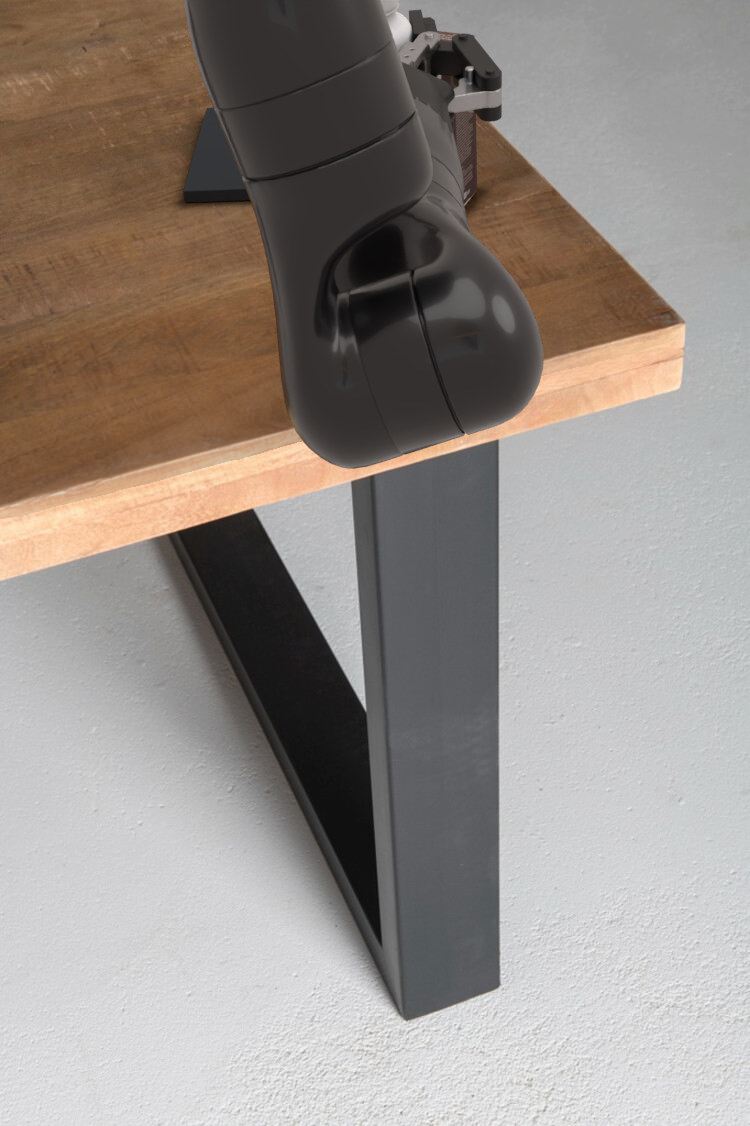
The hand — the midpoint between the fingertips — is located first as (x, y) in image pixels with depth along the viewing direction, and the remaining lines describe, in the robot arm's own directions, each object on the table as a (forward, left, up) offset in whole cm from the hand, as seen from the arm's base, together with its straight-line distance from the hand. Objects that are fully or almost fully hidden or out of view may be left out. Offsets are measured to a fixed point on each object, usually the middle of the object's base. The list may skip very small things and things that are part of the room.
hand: (362, 31), depth 81 cm
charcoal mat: (-9, +23, -20) cm, 32 cm away
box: (+3, +16, -20) cm, 26 cm away
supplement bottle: (0, -3, -6) cm, 7 cm away
